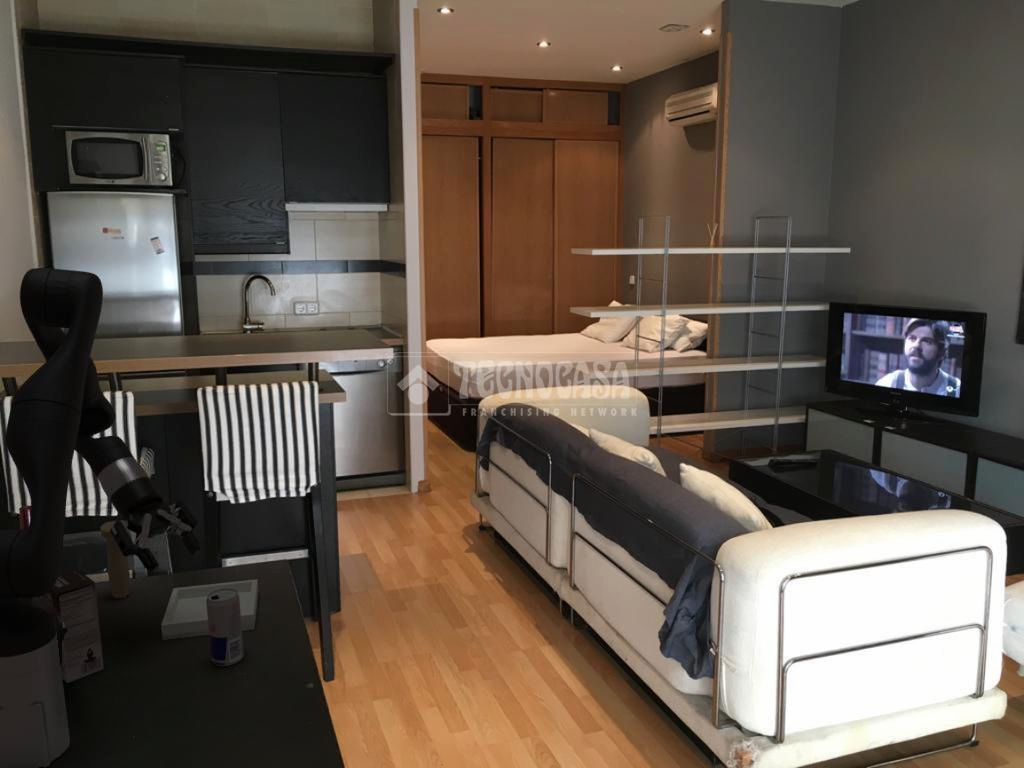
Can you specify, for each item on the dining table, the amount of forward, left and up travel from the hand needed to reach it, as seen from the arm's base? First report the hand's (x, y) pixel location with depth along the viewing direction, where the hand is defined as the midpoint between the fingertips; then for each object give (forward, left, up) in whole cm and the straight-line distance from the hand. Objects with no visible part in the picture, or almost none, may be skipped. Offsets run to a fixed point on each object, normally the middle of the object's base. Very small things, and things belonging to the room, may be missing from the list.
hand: (176, 560), depth 148 cm
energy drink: (-8, -8, -16) cm, 20 cm away
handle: (+24, +15, -16) cm, 32 cm away
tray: (+10, -4, -16) cm, 19 cm away
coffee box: (-4, +17, -16) cm, 24 cm away
